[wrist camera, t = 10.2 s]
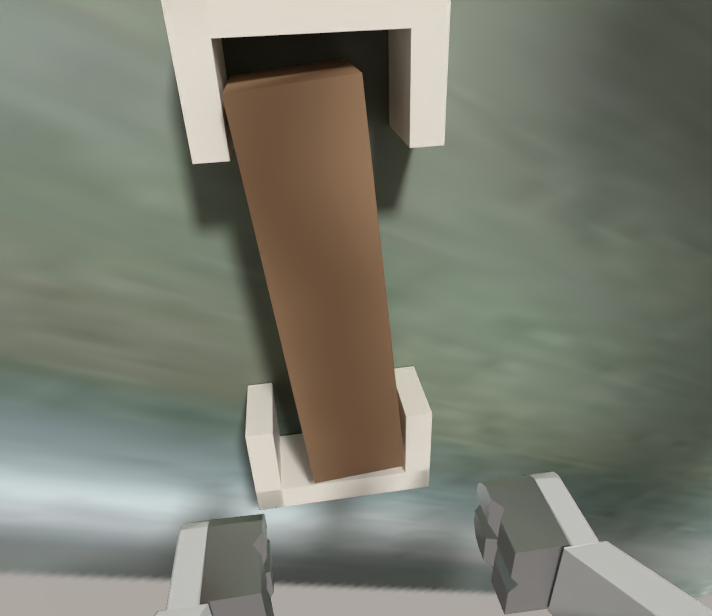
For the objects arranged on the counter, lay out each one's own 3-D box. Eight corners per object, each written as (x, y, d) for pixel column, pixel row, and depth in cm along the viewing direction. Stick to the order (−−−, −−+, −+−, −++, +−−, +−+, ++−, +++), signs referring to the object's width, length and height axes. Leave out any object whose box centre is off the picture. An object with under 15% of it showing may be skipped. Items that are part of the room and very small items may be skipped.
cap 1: (422, -18, 16) (451, -20, 13) (419, 123, 18) (444, 145, 15) (178, -7, 15) (159, -7, 12) (204, 138, 17) (192, 163, 15)
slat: (342, 56, 17) (362, 72, 13) (385, 398, 24) (404, 465, 21) (231, 74, 17) (221, 94, 13) (307, 413, 24) (314, 483, 20)
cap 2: (260, 455, 24) (259, 510, 22) (248, 385, 22) (245, 436, 20) (412, 435, 25) (428, 486, 22) (413, 366, 23) (432, 413, 20)
